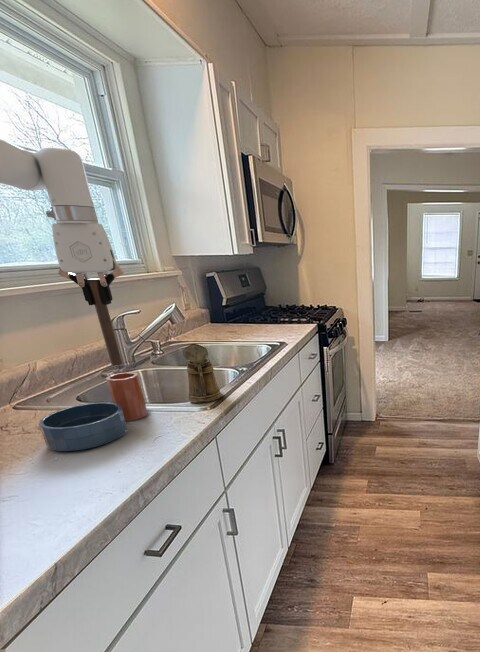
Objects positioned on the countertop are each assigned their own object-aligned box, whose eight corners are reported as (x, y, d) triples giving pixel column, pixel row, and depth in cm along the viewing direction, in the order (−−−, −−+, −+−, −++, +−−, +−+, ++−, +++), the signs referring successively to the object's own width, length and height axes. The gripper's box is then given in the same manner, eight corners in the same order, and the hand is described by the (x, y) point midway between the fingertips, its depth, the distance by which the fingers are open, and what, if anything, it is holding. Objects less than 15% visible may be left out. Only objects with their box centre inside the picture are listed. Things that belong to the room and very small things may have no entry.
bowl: (34, 458, 85) (24, 432, 82) (65, 428, 98) (57, 406, 96) (116, 448, 89) (109, 423, 86) (135, 421, 102) (129, 399, 100)
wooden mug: (187, 410, 109) (173, 345, 102) (189, 395, 120) (176, 335, 113) (222, 406, 112) (211, 342, 105) (220, 391, 123) (210, 332, 116)
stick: (109, 365, 98) (85, 279, 90) (113, 363, 100) (89, 278, 92) (121, 364, 99) (97, 279, 91) (123, 362, 101) (101, 278, 93)
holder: (114, 422, 102) (102, 381, 97) (122, 412, 108) (111, 373, 103) (143, 419, 103) (133, 378, 99) (150, 409, 109) (140, 371, 105)
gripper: (23, 215, 81) (53, 308, 88) (112, 216, 85) (134, 304, 92) (41, 217, 88) (67, 303, 95) (123, 218, 92) (142, 300, 99)
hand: (100, 303), depth 94 cm, fingers closed on stick, 2 cm apart
